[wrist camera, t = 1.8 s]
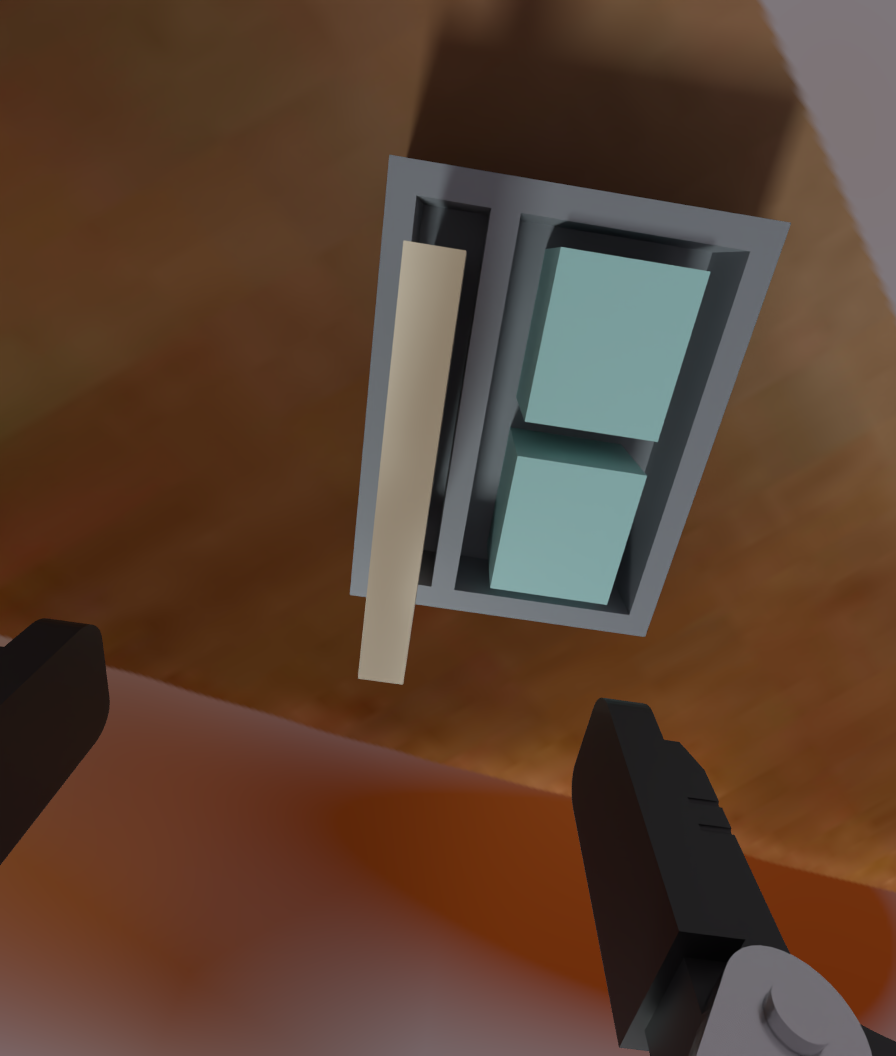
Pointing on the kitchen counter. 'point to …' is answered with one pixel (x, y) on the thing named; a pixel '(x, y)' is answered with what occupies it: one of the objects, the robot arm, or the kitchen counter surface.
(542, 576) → the offcut
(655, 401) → the offcut
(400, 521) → the birch sheet
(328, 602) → the kitchen counter surface
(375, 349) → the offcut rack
